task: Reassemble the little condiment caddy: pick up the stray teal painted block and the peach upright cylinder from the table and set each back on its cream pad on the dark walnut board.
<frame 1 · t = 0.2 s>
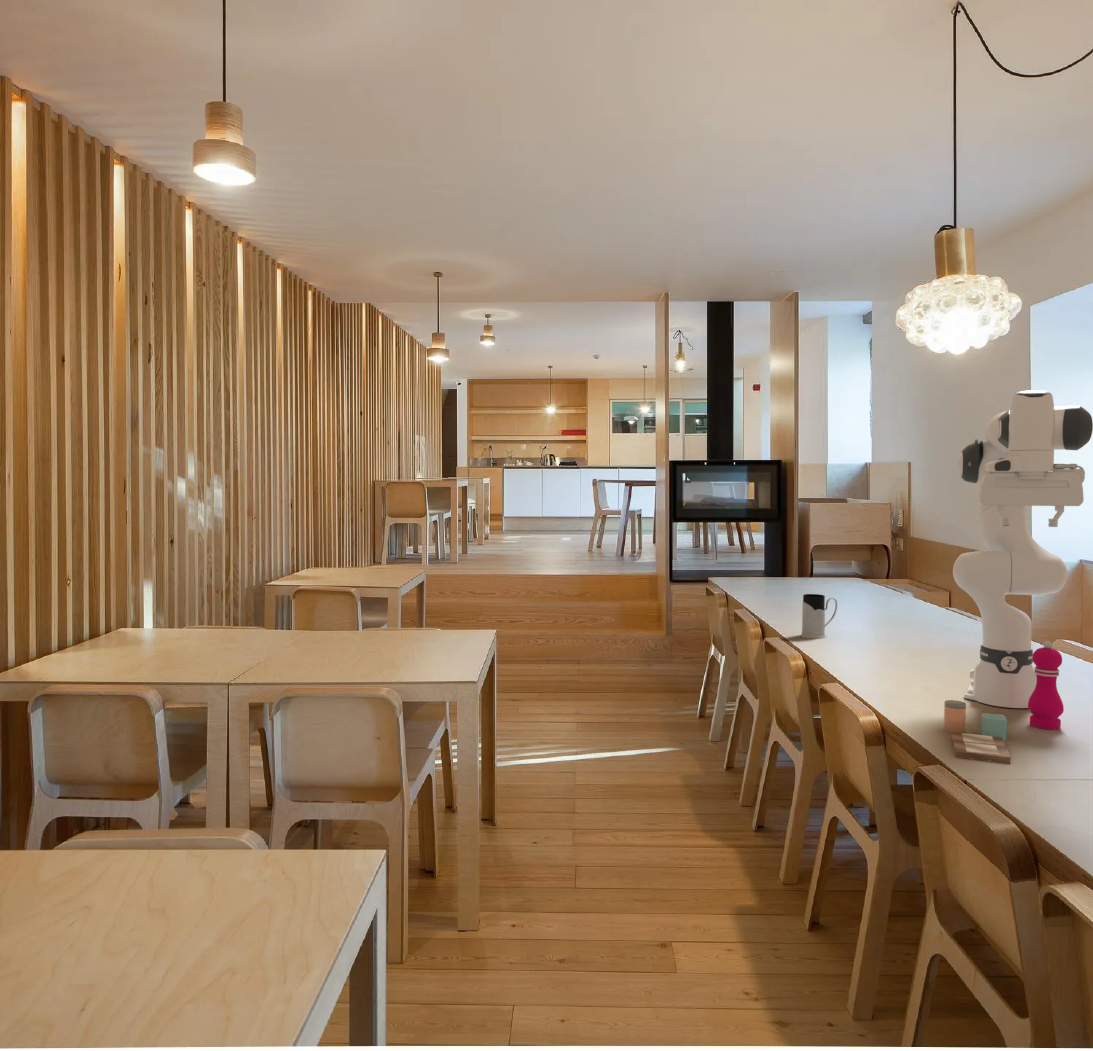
hand: (1028, 526, 186), 47 cm above the table, tool pointing down, fingers open, 8 cm apart
glass holder: (819, 636, 307), on the table
pepper mill: (1044, 726, 197), on the table
teal block: (993, 736, 189), on the table
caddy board: (979, 749, 179), on the table
peach upright cylinder: (954, 732, 192), on the table
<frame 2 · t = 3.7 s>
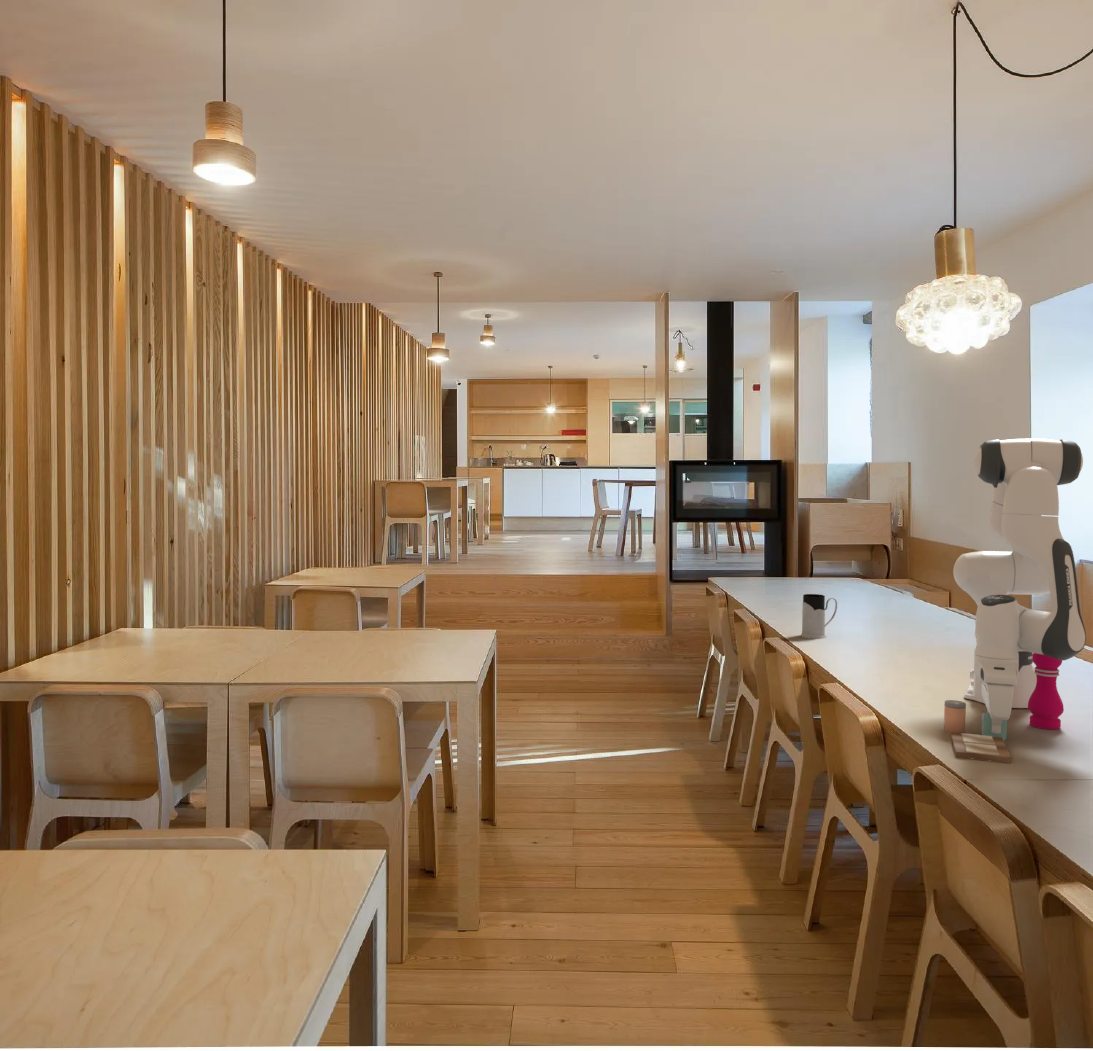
hand: (994, 728, 189), 2 cm above the table, tool pointing down, fingers closed on teal block, 4 cm apart
teal block: (993, 735, 189), on the table, touching gripper
everything else where it was.
when the fingers open (4 cm above the table, at t = 7.5 s): teal block drops 1 cm, resting on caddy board.
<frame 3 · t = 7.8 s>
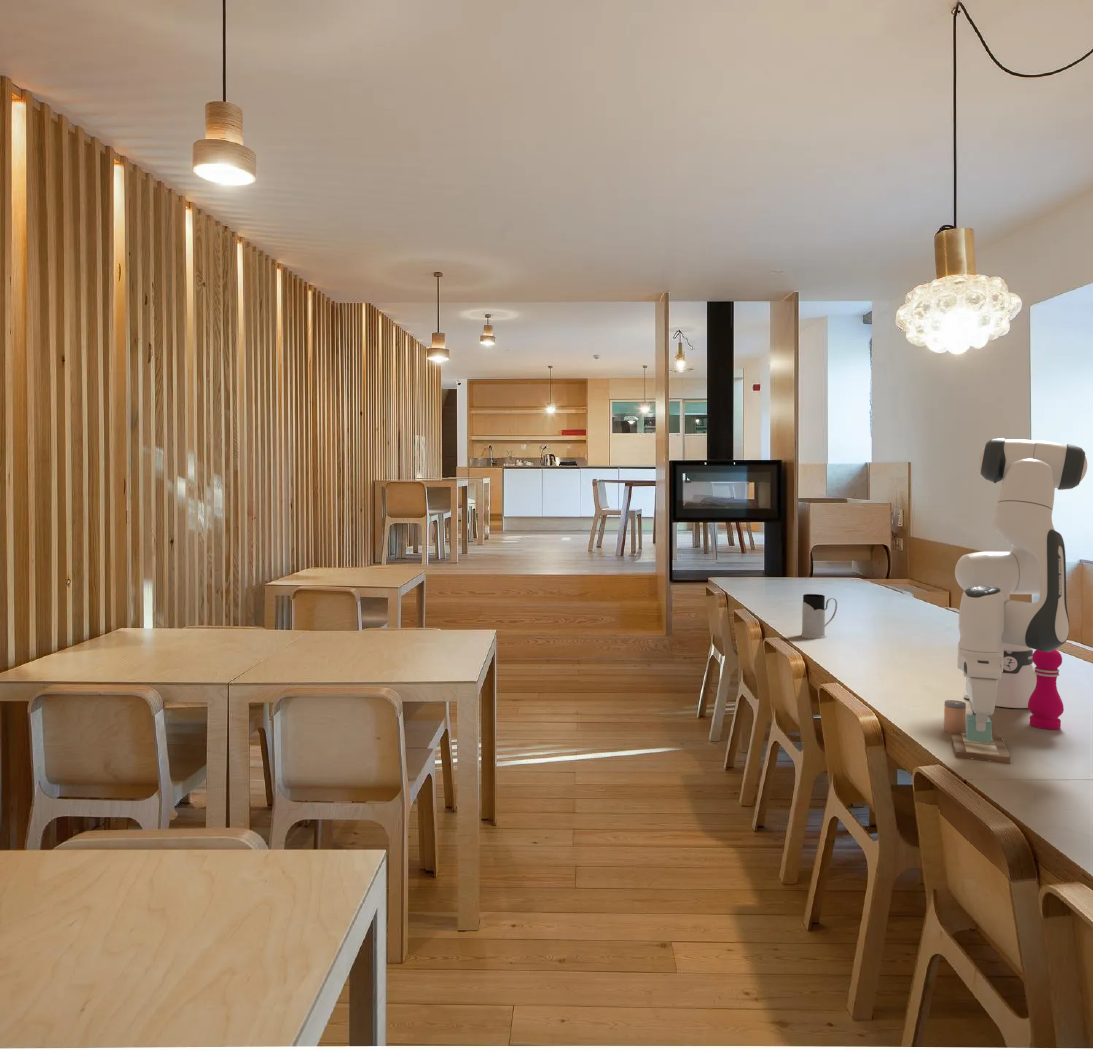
hand: (978, 724, 182), 4 cm above the table, tool pointing down, fingers open, 7 cm apart
teal block: (978, 738, 183), point 1 cm above the table, touching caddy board
everything else where it was.
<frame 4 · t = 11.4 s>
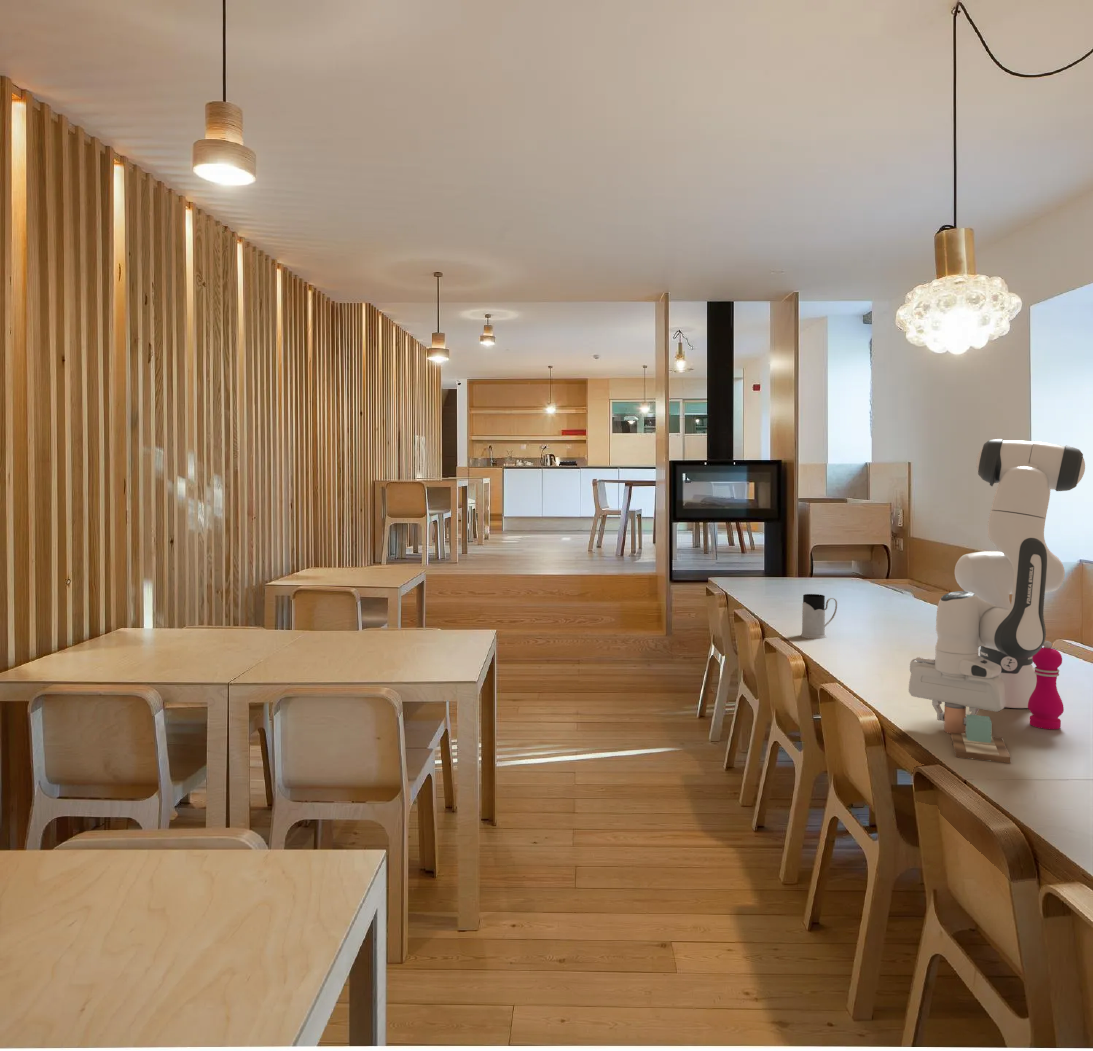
hand: (954, 722, 192), 2 cm above the table, tool pointing down, fingers closed on peach upright cylinder, 4 cm apart
peach upright cylinder: (954, 731, 192), on the table, touching gripper
everything else where it was.
when the fingers open (5 cm above the table, at t = 15.6 s): peach upright cylinder drops 1 cm, resting on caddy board.
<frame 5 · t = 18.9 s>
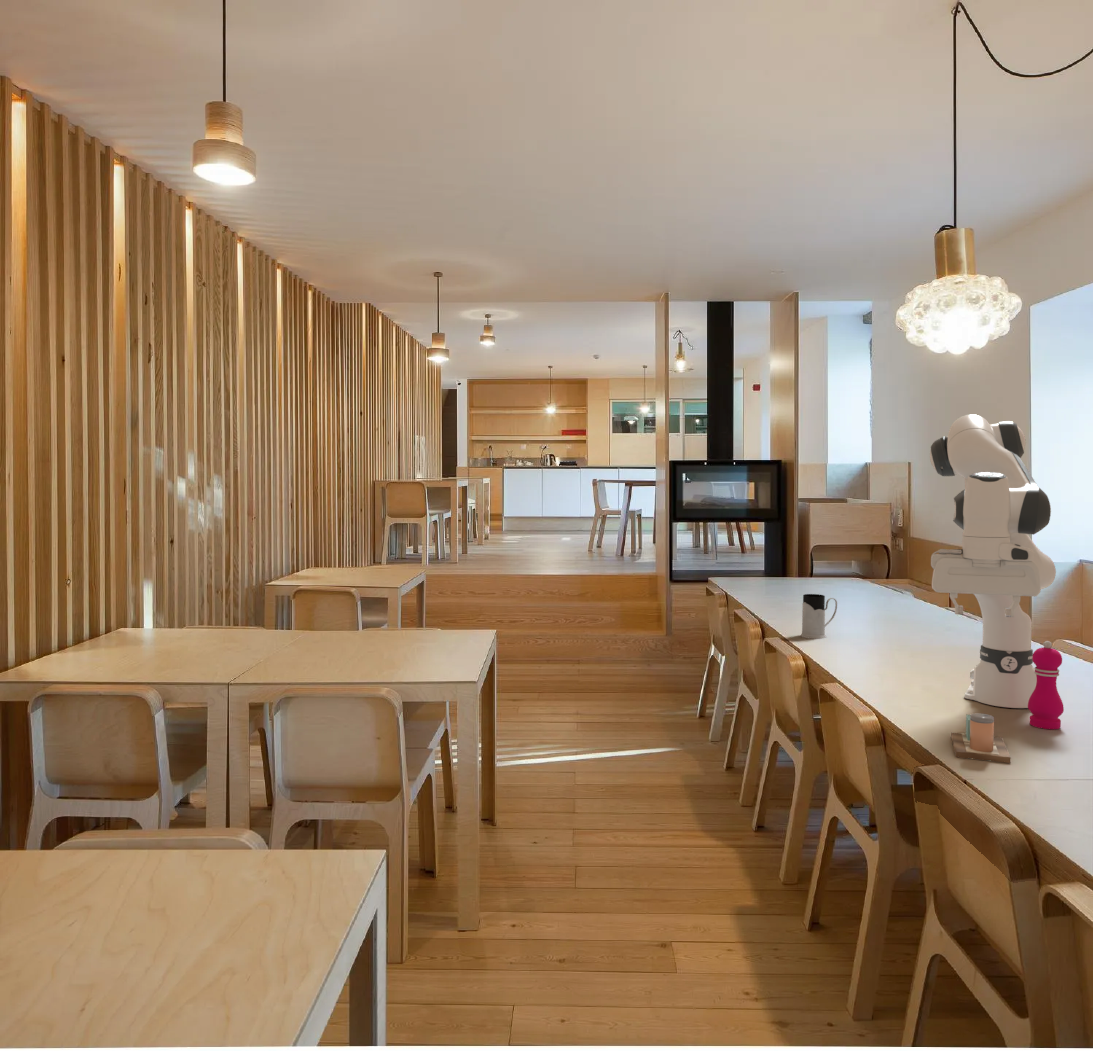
hand: (983, 615, 177), 29 cm above the table, tool pointing down, fingers open, 8 cm apart
peach upright cylinder: (981, 748, 176), point 1 cm above the table, touching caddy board
everything else where it was.
at the end: teal block inside the target area on the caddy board (0.1 cm from its centre), point 1.4 cm above the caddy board's base; peach upright cylinder inside the target area on the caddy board (0.1 cm from its centre), point 1.5 cm above the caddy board's base; peach upright cylinder tilted 2° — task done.
